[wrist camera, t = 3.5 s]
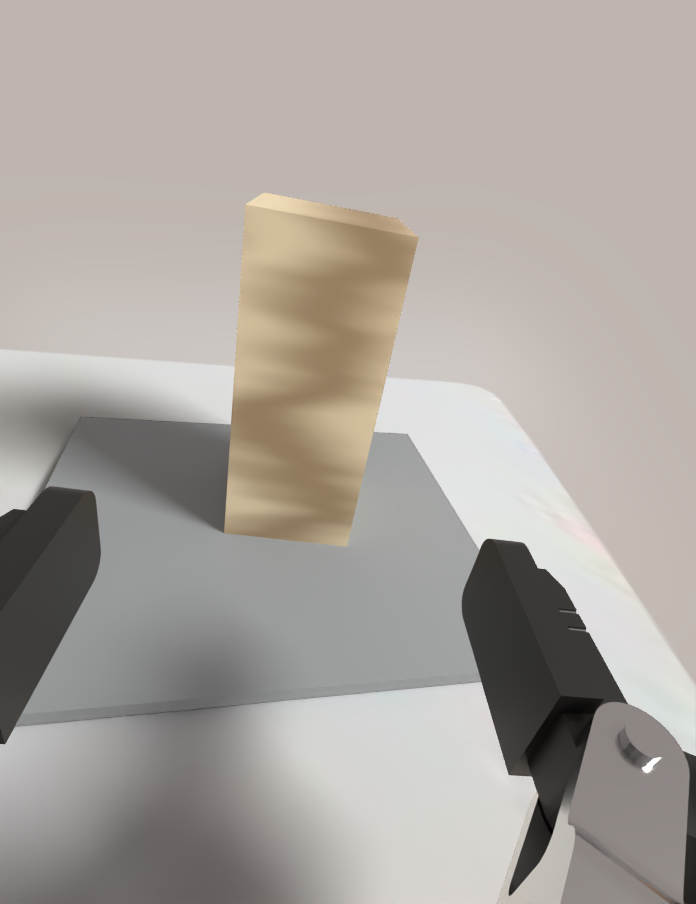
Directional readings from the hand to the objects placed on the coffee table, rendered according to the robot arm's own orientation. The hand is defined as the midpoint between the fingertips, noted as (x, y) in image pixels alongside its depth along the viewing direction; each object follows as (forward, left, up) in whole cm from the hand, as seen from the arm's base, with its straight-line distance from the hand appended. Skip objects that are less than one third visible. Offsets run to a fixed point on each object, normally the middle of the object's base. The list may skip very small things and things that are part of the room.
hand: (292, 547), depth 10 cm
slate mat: (+1, +9, -7) cm, 11 cm away
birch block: (+2, +10, -7) cm, 12 cm away
